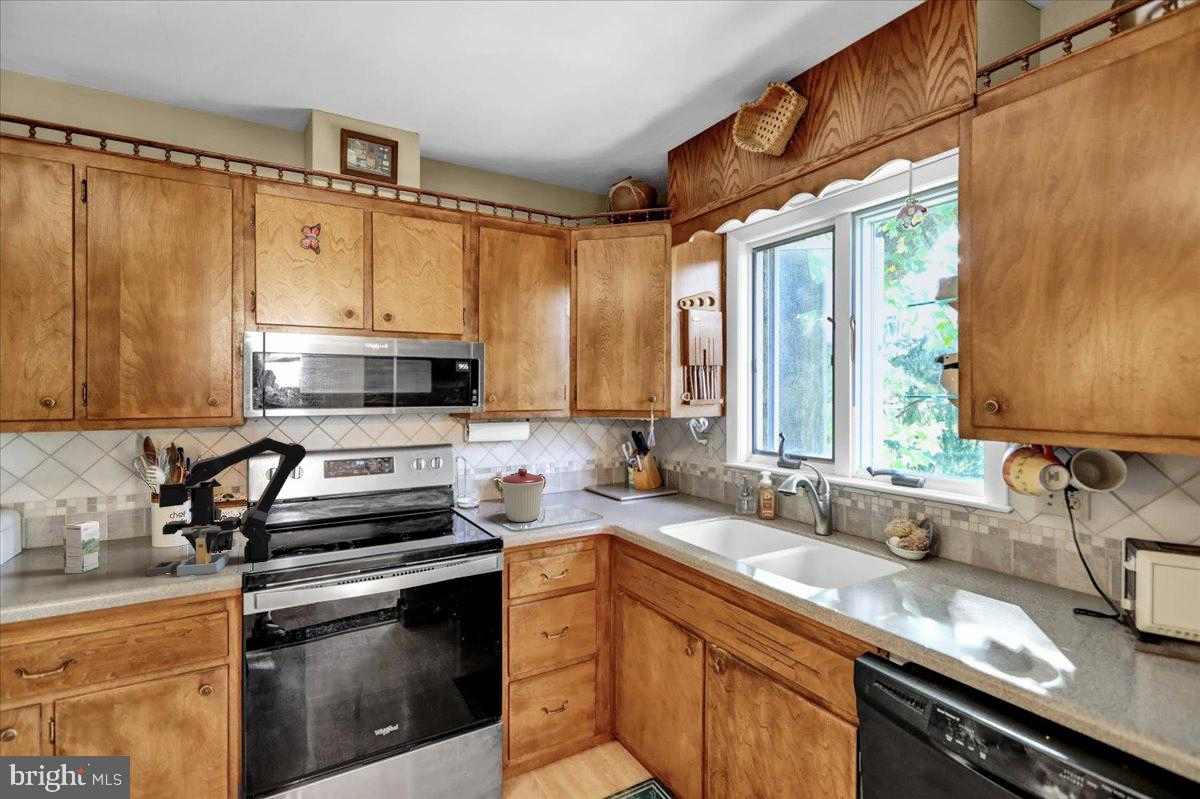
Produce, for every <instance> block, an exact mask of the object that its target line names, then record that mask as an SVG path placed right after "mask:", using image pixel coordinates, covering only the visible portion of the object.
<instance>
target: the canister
mask: <svg viewBox="0 0 1200 799" xmlns="http://www.w3.org/2000/svg"><path fill="white" fill-rule="evenodd" d="M517 472H518V473H517V474H509V475H506V476H505V477H503V478H501V480H500V483H501V484H502V485H501V486H502V492H503V501H504V508H505V515H506V517H507V519H508V520H509V521H511V522H515V523H516V522H517V523H529V522H533V521H536V520H537V519H538V518H539V516H540V513H541V506H542V500H543V499H542V497H543V488H544V487H543V486H544V482H545V481H546V480H545V478H543V477H542V476H541V475H538V474H534V473H533V474H530V473H528V470H527V469H526V468H520V469H519V470H518V471H517Z"/></svg>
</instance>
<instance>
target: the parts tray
mask: <svg viewBox="0 0 1200 799" xmlns="http://www.w3.org/2000/svg"><path fill="white" fill-rule="evenodd" d="M229 553H230V552H227V553H222V554H215V555H211V561H210V562H209V563H207V564H196V555H193V556H190V557H189V558H187V559H186V560H184V561H183V562H181V564H180V565H179V566H177V570H176V577H177V576H184V577H192V576H191V575H195V576H206V575H215V573H217V574H218V573H219V572H220V571H222V570H223V569H224V568H225V567H226V566H227V565H228V564H229V563H230V554H229ZM228 562H229V563H228ZM227 563H228V564H227ZM226 564H227V565H226ZM225 565H226V566H225ZM224 566H225V567H224ZM223 567H224V568H223ZM222 568H223V569H222ZM221 569H222V570H221Z"/></svg>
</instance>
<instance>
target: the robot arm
mask: <svg viewBox="0 0 1200 799" xmlns="http://www.w3.org/2000/svg"><path fill="white" fill-rule="evenodd" d="M267 451H269V452H272V453H276V454H279V455H280V456H279V458H278V459H279V460H278V463H277V467H276V469H275V471H274V472H273V475H272V476H271V478H270V479H269V481H268V483H267V485H266V487H265V488H264V490H263V492H262V493H261V495H260V496H259V499H258V500H257V502H256V504H255V505H254V507H252V508H251V510H246V509H244V511H243V513H242V517H240V516H235V517H234V516H233V517H231V516H230V517H225V518H224V519H222V509H221V508H217V505H216V503H215V496H214V495H215V492H214V490H215V488H217V487H219V488H220V487H221V486H222V483H221V482H219V481H217V479H216V478H214V477H216V476H218V475H219V474H221V473H222V472H223V471H224V470H226V469H228V468H229V467H231V466H234V465H236V464H238V463H241V462H243V461H245V460H248V459H250V458H253V457H255V456H257V455H260V454H262V453H265V452H267ZM306 455H307V450H306V448H305V447H304V446H303V445H301V444H299V443H296V442H289V443H284V442H281V441H278V440H275V439H273V438H270V437H268V436H265V437H261V439H259V440H257V441H255V442H252V443H249V444H246V445H244V446H241V447H239V448H237V449H234V450H232V451H229V452H227V453H224V454H222V455H218V456H213V457H208V458H204V459H199V460H196V461H195V462H193V463H191V464H190V466H189V468H188V474H187V475H186V476H185V477H184V478H183V479H182V480H181V482H174V483H160V484H159V488H158V489H159V491H158V497H157V498H158V508H161V509H162V508H169V507H177V506H179V507H180V506H184V504H185V503H186V502H188V501H189V494H190V508H189V509H188V510H189V512H188V513H190V522H186V520H172V521H170V522H168V523H165V524H164V525H163V527H162V529H161V530H162V532H161V534H162V535H163V536H164V535H165V536H167V535H168V536H169V535H175V534H176V533H178V531H181V534H180V537H185V539H186V540H187V541H188V543H189V544H190V545H191V547H192V548H193V550H194V552H195V553H196V538H198V537H199V533H200V530H201V529H206V528H209V529H210V531H209V532H207V533H206V540H207V553H208V554H209V553H210V552H211V549H212V546H213V544H214V541H215V538H216V536H217V535H218V533H220V532H221V531H222V530H223V531H226V530H233V531H236V530H237V529H238V530H239V533H240V534H242V536H243V537H244V538H246V539H248V540H246V541H245V546H244V547H243V554H244V556H243V558H244V563H245V564H249V563H250V564H251V563H259V562H260V563H261V562H267V561H269V560H270V559H271V558H272V557H273V556H274V554H273V553H272V534H271V533H270V532H269V531H268V530H267V529H266V528H265V526H266V523H267V520H268V516H269V511H270V509H272V507H273V505H274V503H275V502H276V499H277V497H278V496H279V494H280V492H281V490H282V489H283V487H284V485H285V483H286V482H287V480H288V478H289V476H290V475H291V473H292V472H293V471H294V470H295V469H296V468H297V467H298V466H299V464H301V462H302V461H303V460H304V459H305V457H306ZM209 480H210V481H209ZM197 484H198V485H197ZM189 491H190V492H189ZM221 519H222V520H221Z"/></svg>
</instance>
